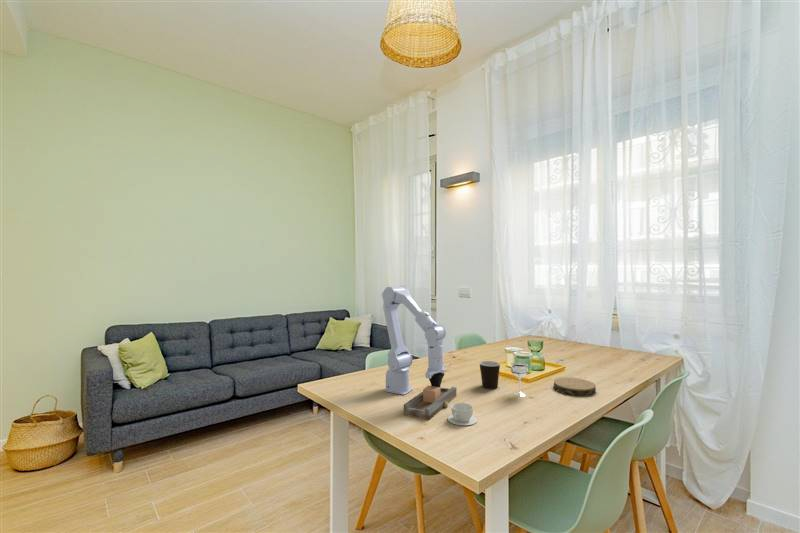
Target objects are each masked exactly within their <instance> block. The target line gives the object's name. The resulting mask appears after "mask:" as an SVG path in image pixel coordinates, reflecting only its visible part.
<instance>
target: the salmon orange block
mask: <svg viewBox="0 0 800 533" xmlns="http://www.w3.org/2000/svg"><path fill="white" fill-rule="evenodd" d="M440 387H441V386H440ZM440 387H434V386H431V385H427V386H426V387H424V388H423V389H422V392H423V401H424V402H429V403H433V402H434V401H436V400H437V399H438V398H439V397H441V388H440Z"/></svg>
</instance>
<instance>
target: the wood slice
mask: <svg viewBox="0 0 800 533" xmlns="http://www.w3.org/2000/svg"><path fill="white" fill-rule="evenodd" d="M596 387H597V386H596V384H595V383H594V382H592V381H590V380H587V379H584V378H578V377H571V376H569V377H565V376H563V377H558V378H555V379H554V380H553V389H554V390H555V391H557V392H558V393H561V394H565V395H569V396H577V397H590V396H594V395H596V393H597V391H596V390H597V389H596Z"/></svg>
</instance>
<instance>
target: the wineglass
mask: <svg viewBox="0 0 800 533" xmlns="http://www.w3.org/2000/svg"><path fill="white" fill-rule="evenodd" d="M510 365H511V367H510V372H511V374H512V375H514V377H516V378H517V379H518V391H515V392H513V395H515V396H517V397H525V396H527V393H526V392H523V391H521V383H522V382H521V379H523V378H524V377H526V376H527V375H528V374H529V368H528V366H529V364H528V363H525V362H517V361H515V362H512V363H510Z"/></svg>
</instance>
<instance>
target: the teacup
mask: <svg viewBox="0 0 800 533" xmlns="http://www.w3.org/2000/svg"><path fill="white" fill-rule="evenodd" d="M450 409H451V414H450V415H448V416H447V421H448V422H449V423H451V424H454V425H457V426H471V425H475V424H476V423H477V421H478V418H477V417H476V416H475V415H473V411H474V406H473V405H471V404H470V403H466V402H457V403H456V402H455V403H453V404H451V406H450Z"/></svg>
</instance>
